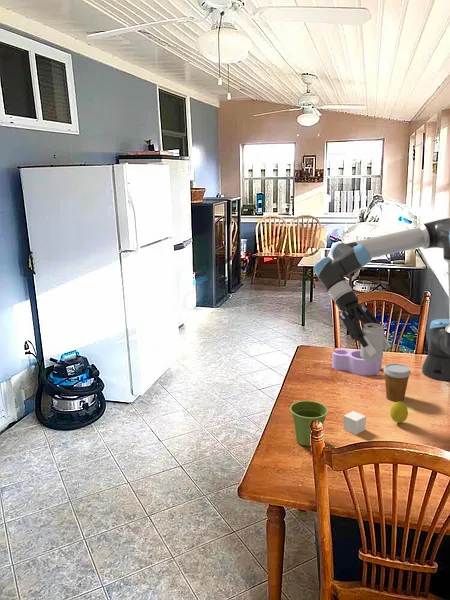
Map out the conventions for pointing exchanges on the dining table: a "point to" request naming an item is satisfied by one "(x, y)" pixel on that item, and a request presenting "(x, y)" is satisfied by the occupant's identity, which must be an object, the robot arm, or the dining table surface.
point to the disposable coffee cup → (396, 381)
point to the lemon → (399, 412)
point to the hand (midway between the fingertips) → (380, 351)
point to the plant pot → (306, 418)
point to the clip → (354, 362)
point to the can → (373, 341)
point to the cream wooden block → (354, 422)
